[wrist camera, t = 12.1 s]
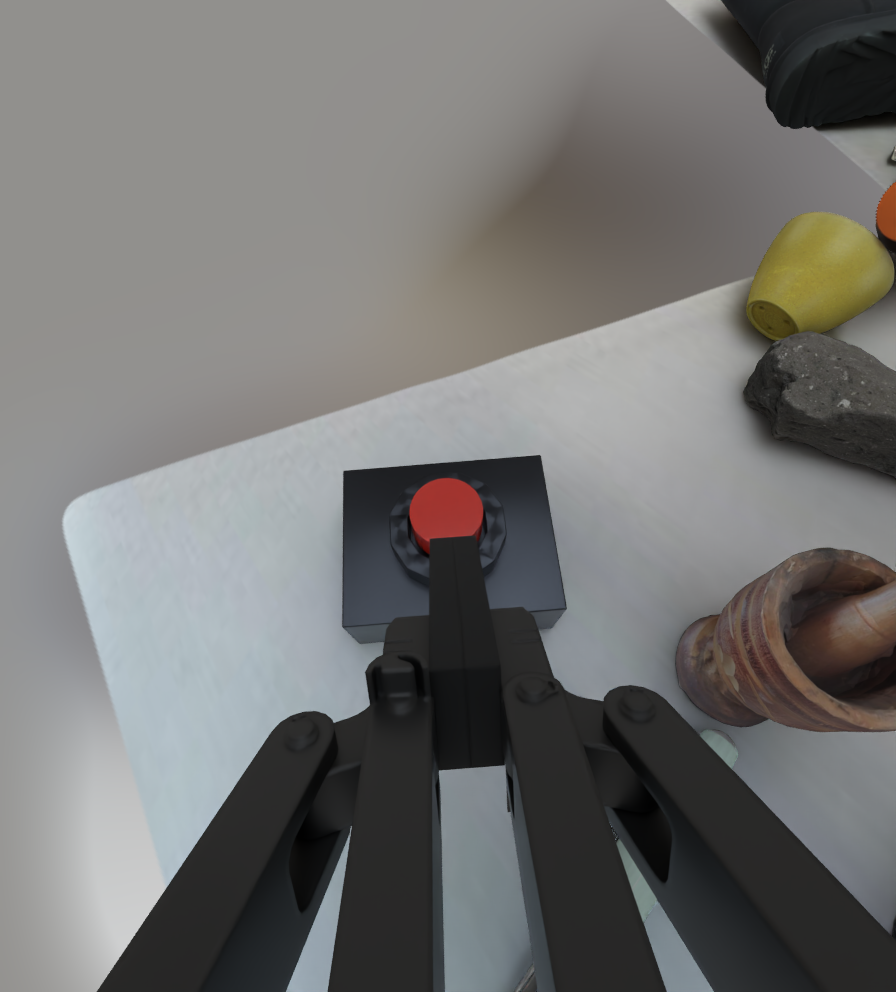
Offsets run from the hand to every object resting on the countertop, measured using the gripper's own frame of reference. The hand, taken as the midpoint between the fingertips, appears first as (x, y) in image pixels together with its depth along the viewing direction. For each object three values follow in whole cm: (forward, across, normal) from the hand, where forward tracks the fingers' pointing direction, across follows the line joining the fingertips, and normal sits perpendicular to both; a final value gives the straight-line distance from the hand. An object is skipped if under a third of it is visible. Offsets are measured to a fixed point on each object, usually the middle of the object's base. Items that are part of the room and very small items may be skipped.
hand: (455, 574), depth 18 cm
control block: (+21, 0, -10) cm, 24 cm away
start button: (+16, 0, -5) cm, 17 cm away
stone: (+29, +35, -3) cm, 46 cm away
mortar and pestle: (+16, +20, -16) cm, 30 cm away
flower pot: (+32, +29, +4) cm, 44 cm away
